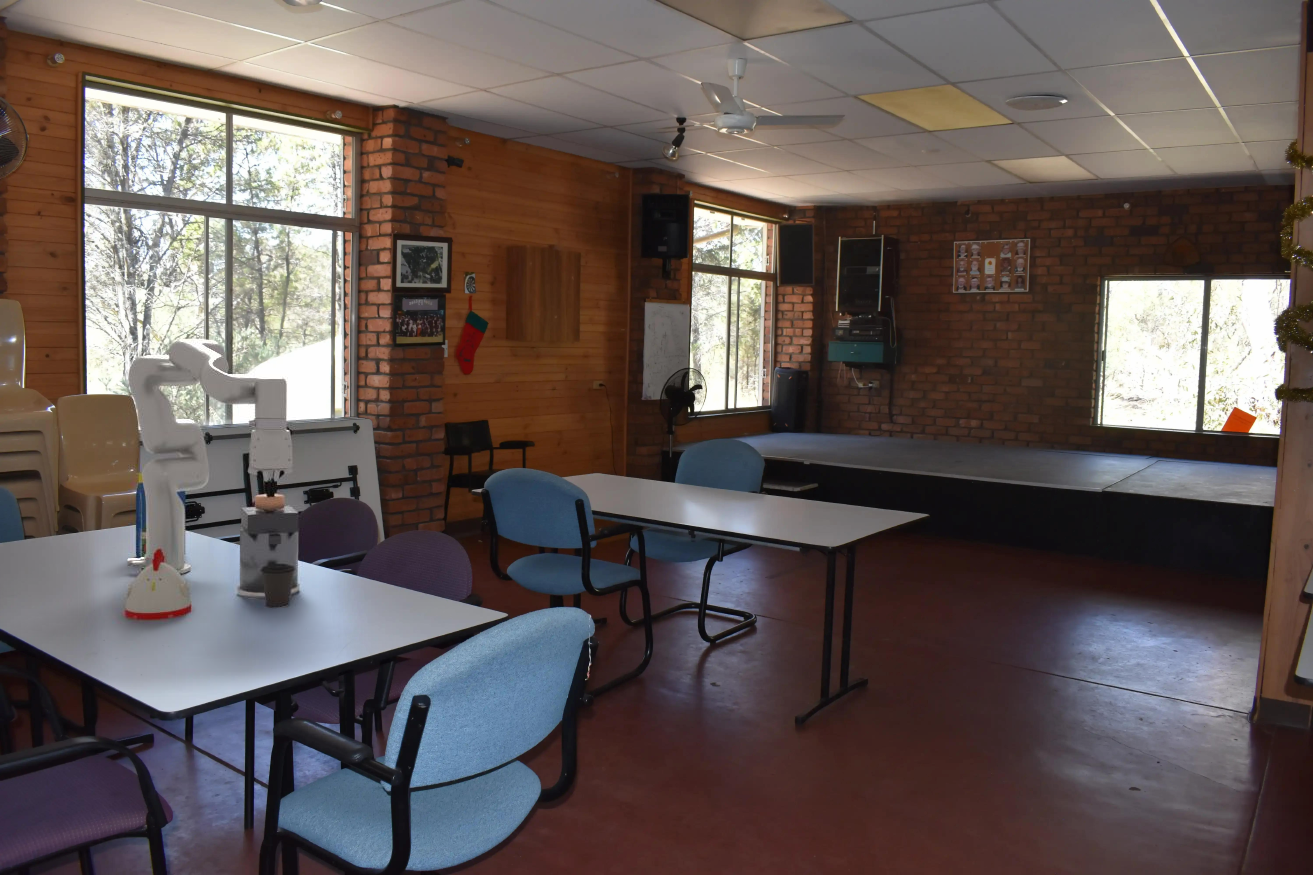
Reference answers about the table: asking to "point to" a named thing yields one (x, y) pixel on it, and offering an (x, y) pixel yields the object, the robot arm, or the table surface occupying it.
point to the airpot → (266, 547)
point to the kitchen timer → (158, 592)
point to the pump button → (269, 502)
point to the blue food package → (144, 517)
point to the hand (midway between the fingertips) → (270, 495)
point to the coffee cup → (277, 584)
